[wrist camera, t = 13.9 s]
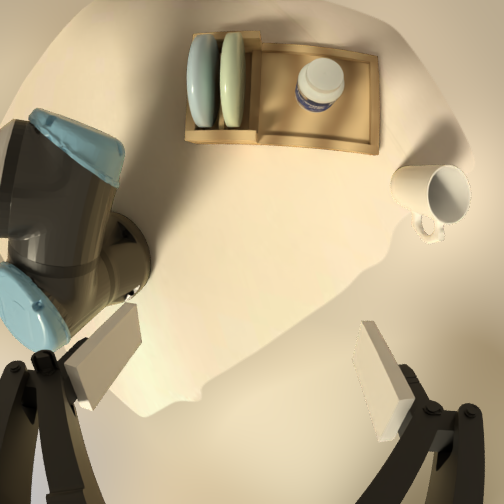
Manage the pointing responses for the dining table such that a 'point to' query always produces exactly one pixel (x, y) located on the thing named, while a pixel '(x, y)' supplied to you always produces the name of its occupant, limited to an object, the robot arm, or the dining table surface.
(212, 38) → the plate blue
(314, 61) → the pill bottle
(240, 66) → the plate sage
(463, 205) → the mug
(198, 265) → the dining table surface
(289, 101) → the dish rack
